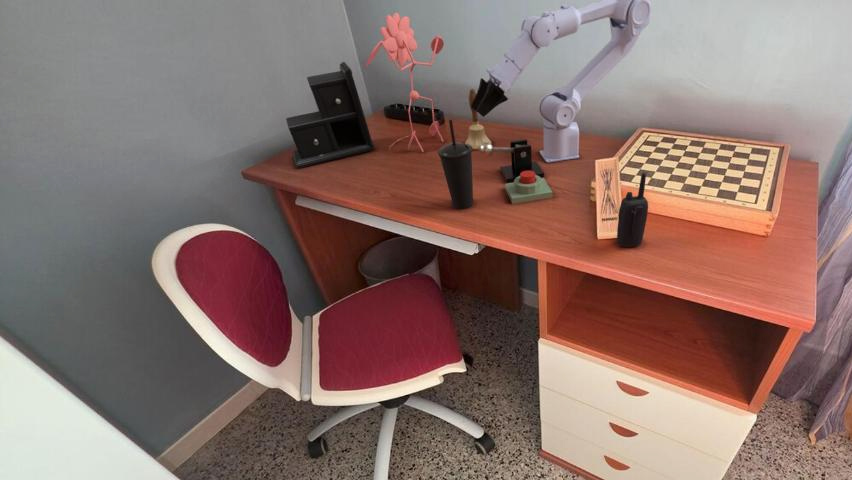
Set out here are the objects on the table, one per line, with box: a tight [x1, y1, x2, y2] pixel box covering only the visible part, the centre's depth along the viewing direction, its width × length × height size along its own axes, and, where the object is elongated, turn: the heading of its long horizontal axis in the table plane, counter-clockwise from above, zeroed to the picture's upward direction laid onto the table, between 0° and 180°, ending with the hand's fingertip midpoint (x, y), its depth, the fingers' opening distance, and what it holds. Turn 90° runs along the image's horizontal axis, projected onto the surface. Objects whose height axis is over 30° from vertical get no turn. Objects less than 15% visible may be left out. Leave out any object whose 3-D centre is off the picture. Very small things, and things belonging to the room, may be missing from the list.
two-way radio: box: [616, 172, 649, 248], centre depth 80 cm, size 6×4×15 cm
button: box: [520, 171, 535, 184], centre depth 102 cm, size 4×4×2 cm
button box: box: [504, 175, 554, 205], centre depth 103 cm, size 10×8×4 cm
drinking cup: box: [437, 119, 474, 211], centre depth 96 cm, size 8×8×20 cm
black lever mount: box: [499, 138, 545, 184], centre depth 110 cm, size 10×8×8 cm
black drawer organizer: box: [285, 61, 375, 169], centre depth 125 cm, size 23×11×24 cm, turn 116°
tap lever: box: [478, 142, 524, 158], centre depth 108 cm, size 12×4×4 cm, turn 102°
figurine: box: [365, 12, 457, 153], centre depth 123 cm, size 15×26×35 cm, turn 145°
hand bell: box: [464, 88, 492, 150], centre depth 126 cm, size 8×8×16 cm
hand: (476, 111), depth 104 cm, fingers open, 7 cm apart
